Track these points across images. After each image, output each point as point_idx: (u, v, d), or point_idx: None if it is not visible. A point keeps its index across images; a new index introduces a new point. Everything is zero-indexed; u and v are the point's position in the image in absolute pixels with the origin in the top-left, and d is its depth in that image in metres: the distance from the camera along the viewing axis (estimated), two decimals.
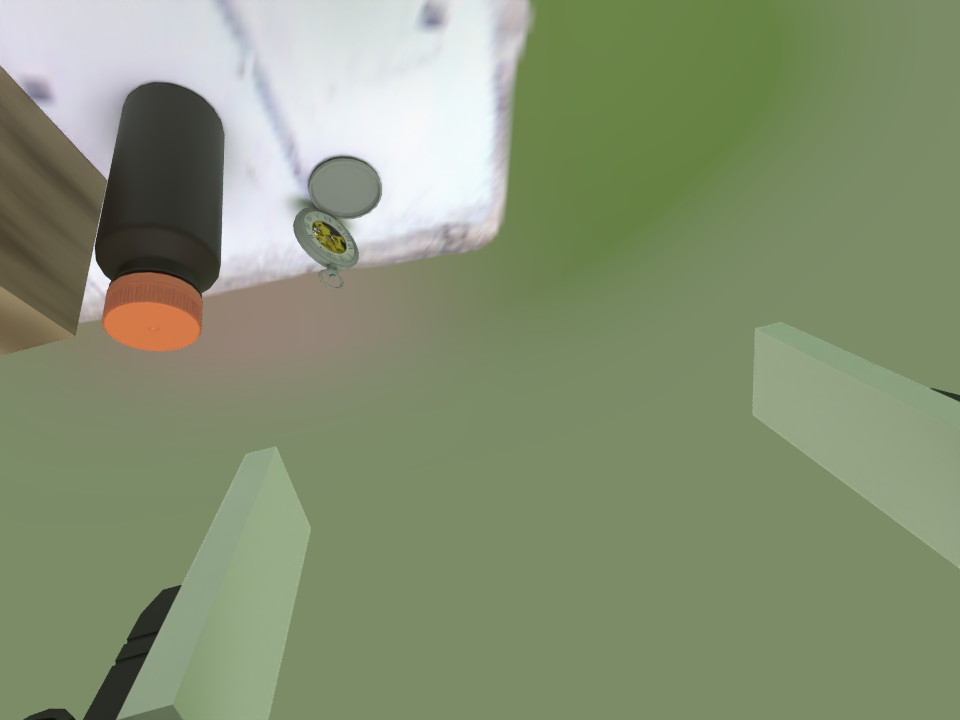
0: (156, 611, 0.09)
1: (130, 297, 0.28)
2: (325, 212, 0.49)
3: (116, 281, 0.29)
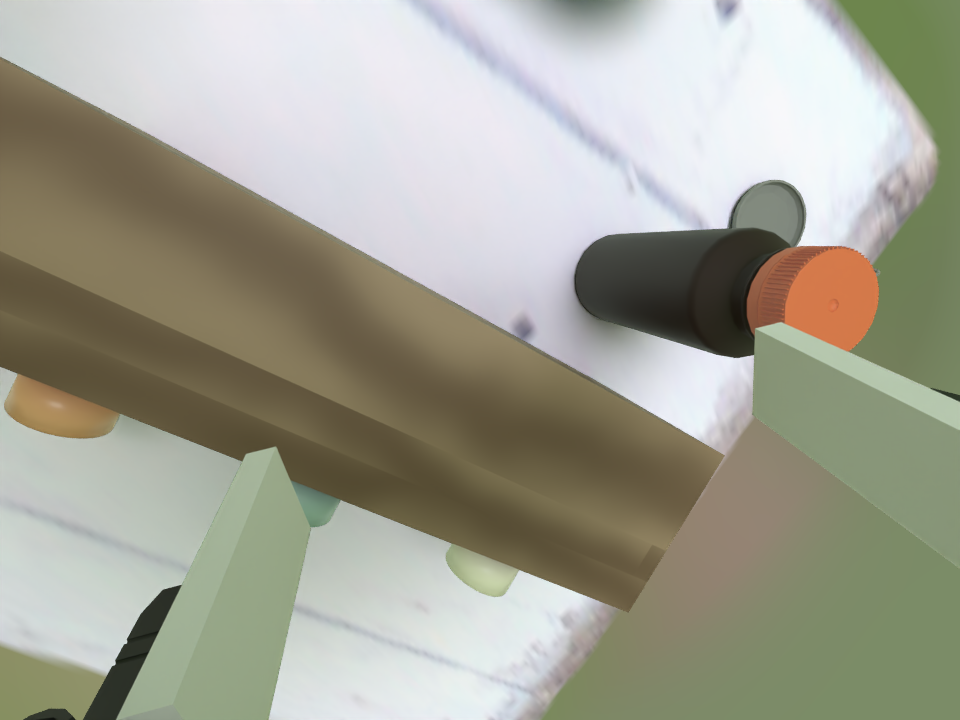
0: (156, 611, 0.09)
1: (791, 270, 0.21)
2: None
3: (752, 290, 0.23)
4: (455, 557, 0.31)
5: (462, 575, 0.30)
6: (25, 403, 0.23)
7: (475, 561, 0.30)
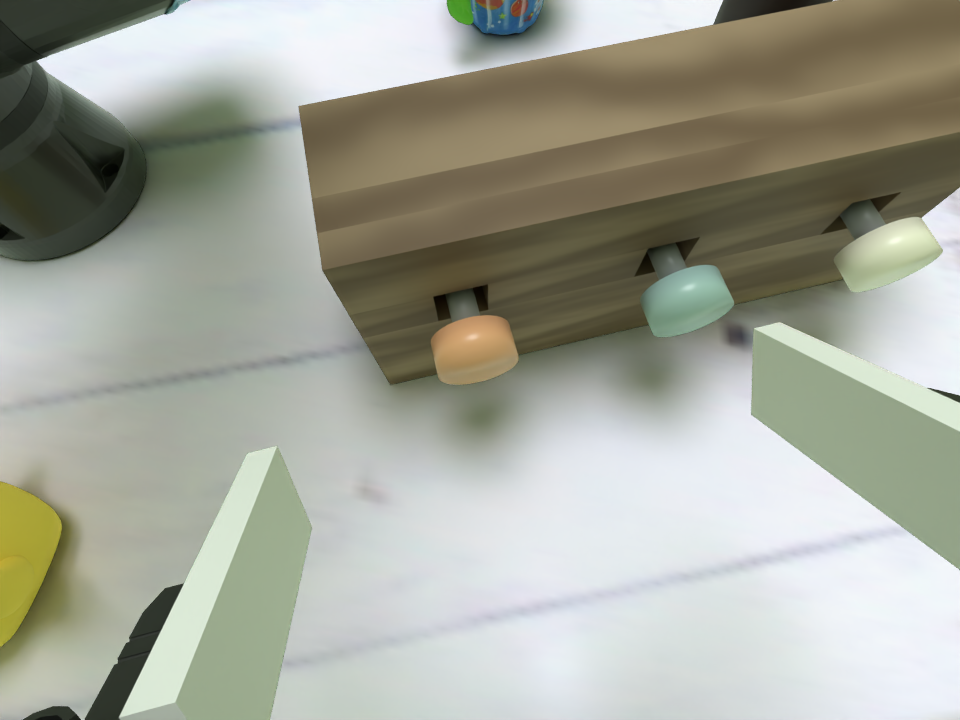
0: (158, 609, 0.09)
1: None
2: None
3: None
4: (862, 260, 0.28)
5: (887, 257, 0.27)
6: (457, 341, 0.25)
7: (881, 236, 0.27)
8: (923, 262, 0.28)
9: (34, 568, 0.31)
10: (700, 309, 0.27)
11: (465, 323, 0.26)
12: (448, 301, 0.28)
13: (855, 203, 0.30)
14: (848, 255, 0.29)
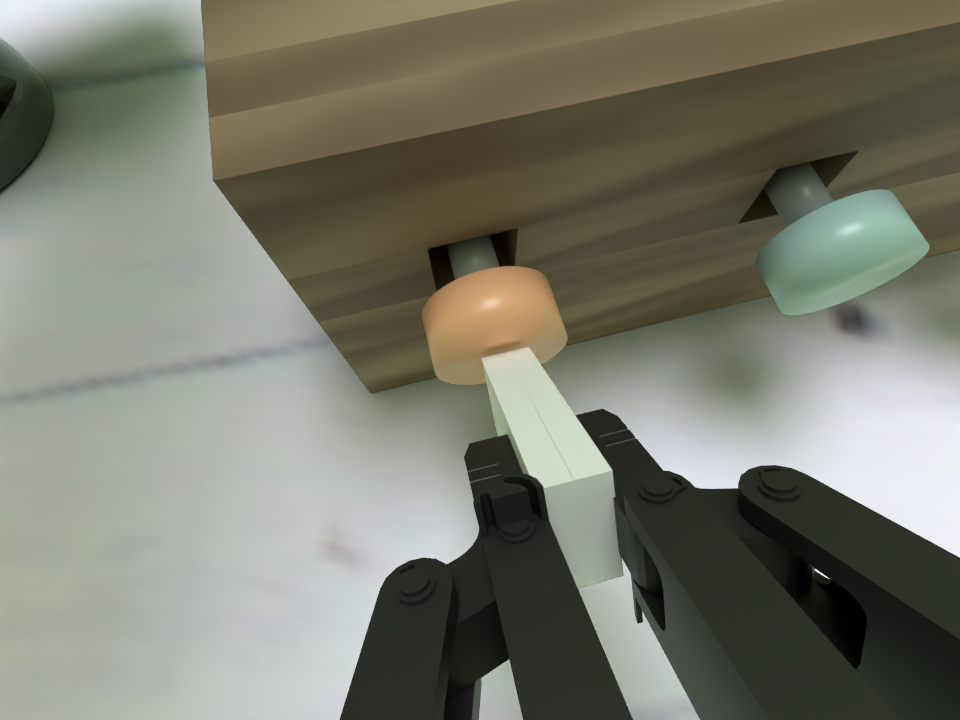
0: (477, 454, 0.12)
1: None
2: None
3: None
4: None
5: None
6: (466, 310, 0.15)
7: None
8: None
9: None
10: (872, 265, 0.16)
11: (480, 279, 0.15)
12: (450, 251, 0.18)
13: None
14: None
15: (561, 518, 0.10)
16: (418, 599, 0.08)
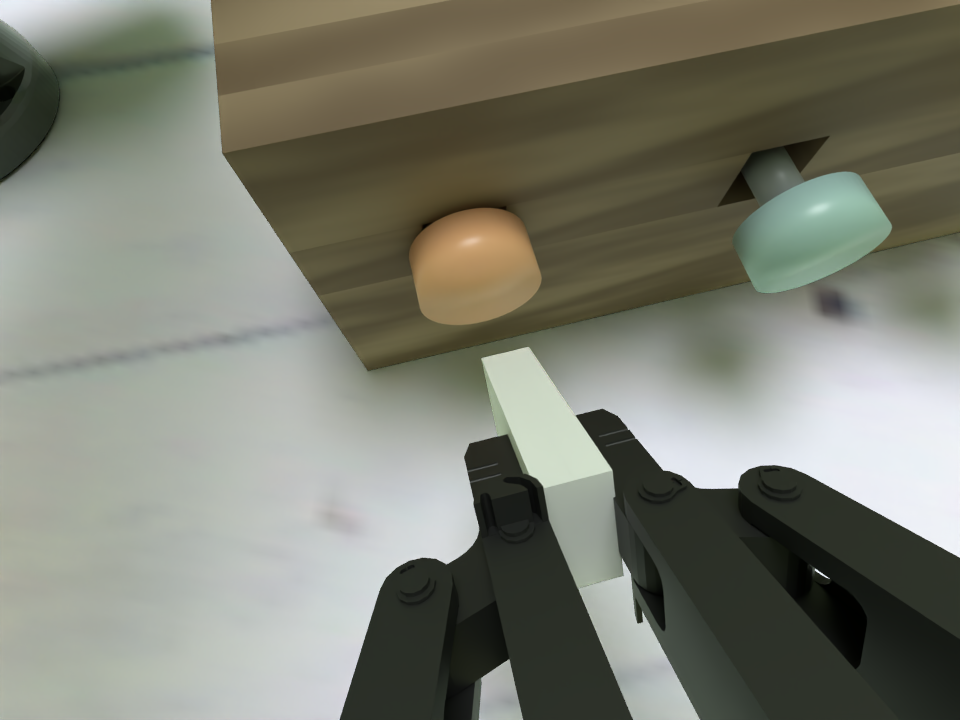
0: (477, 454, 0.12)
1: None
2: None
3: None
4: None
5: None
6: (448, 246, 0.16)
7: None
8: None
9: None
10: (839, 243, 0.17)
11: (460, 218, 0.17)
12: None
13: None
14: None
15: (561, 519, 0.10)
16: (418, 599, 0.08)
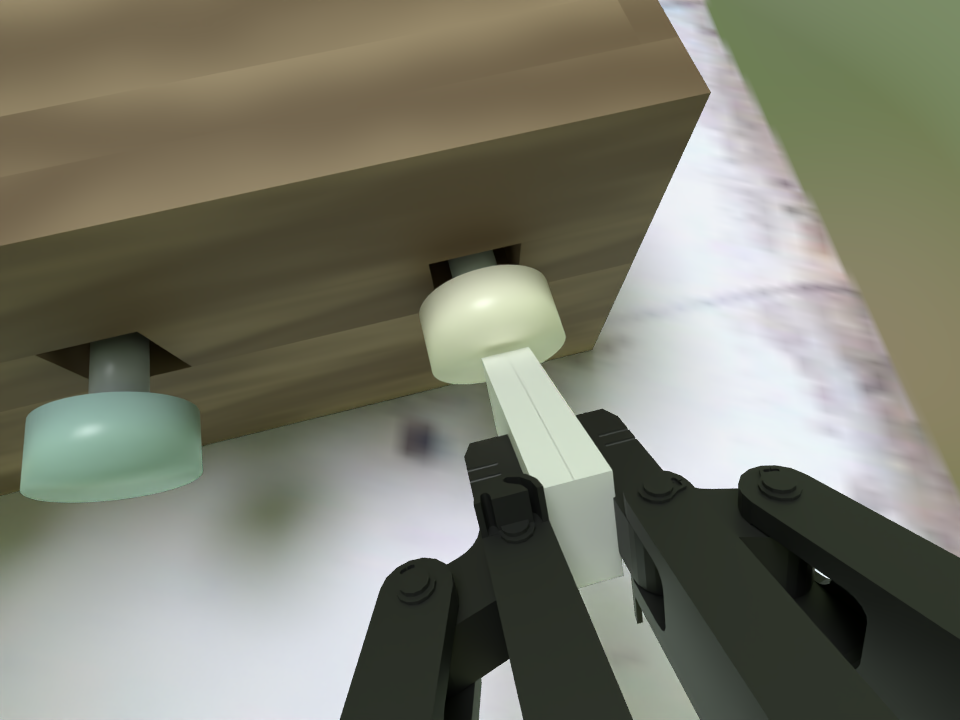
0: (477, 454, 0.12)
1: None
2: None
3: None
4: (428, 341, 0.16)
5: (446, 340, 0.15)
6: None
7: (443, 301, 0.15)
8: (544, 341, 0.16)
9: None
10: (94, 476, 0.14)
11: None
12: None
13: None
14: (422, 329, 0.16)
15: (561, 518, 0.10)
16: (418, 599, 0.08)
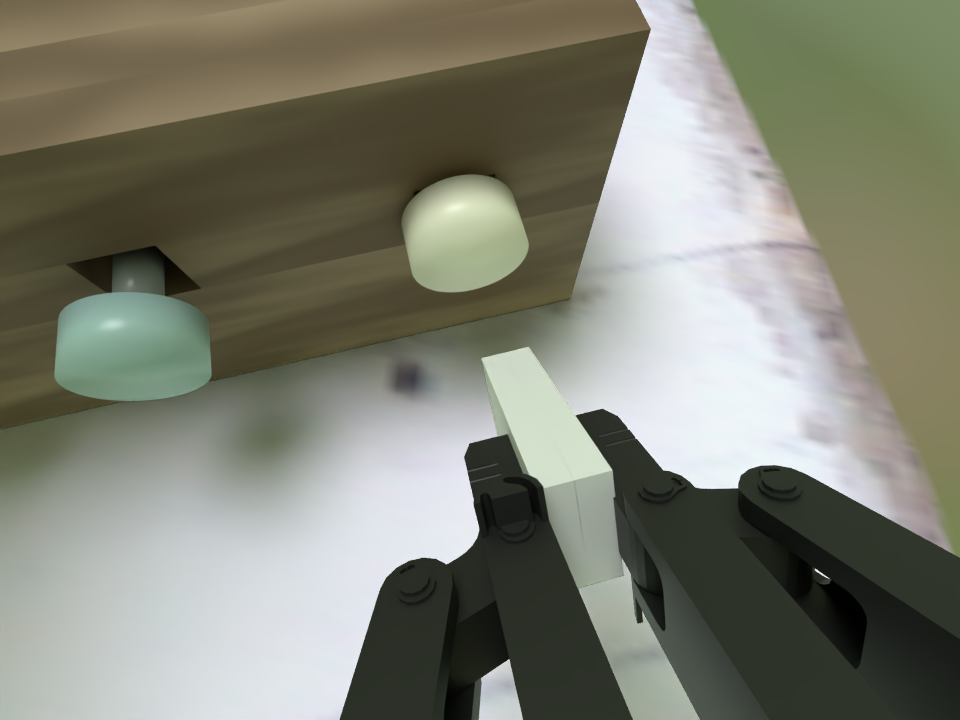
0: (477, 454, 0.12)
1: None
2: None
3: None
4: (408, 243, 0.18)
5: (423, 237, 0.17)
6: None
7: (421, 206, 0.17)
8: (509, 246, 0.18)
9: None
10: (118, 365, 0.16)
11: None
12: None
13: None
14: (404, 236, 0.19)
15: (561, 519, 0.10)
16: (418, 599, 0.08)
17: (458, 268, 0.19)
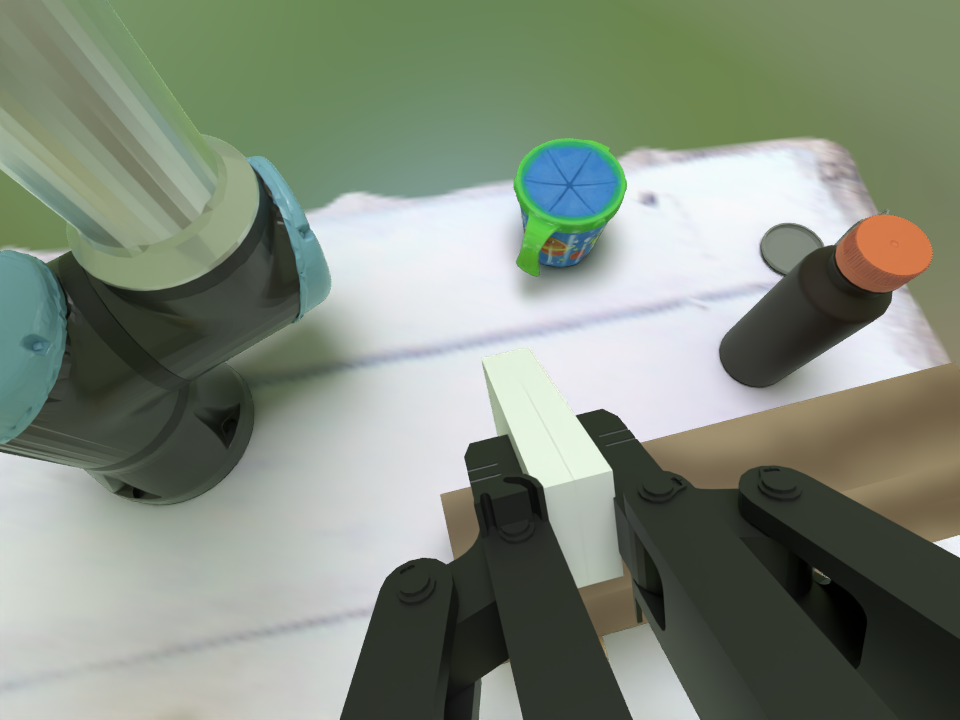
0: (477, 454, 0.12)
1: (854, 251, 0.34)
2: None
3: (848, 276, 0.35)
4: None
5: None
6: None
7: None
8: None
9: None
10: None
11: None
12: None
13: None
14: None
15: (561, 518, 0.10)
16: (418, 599, 0.08)
17: None
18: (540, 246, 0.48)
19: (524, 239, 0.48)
